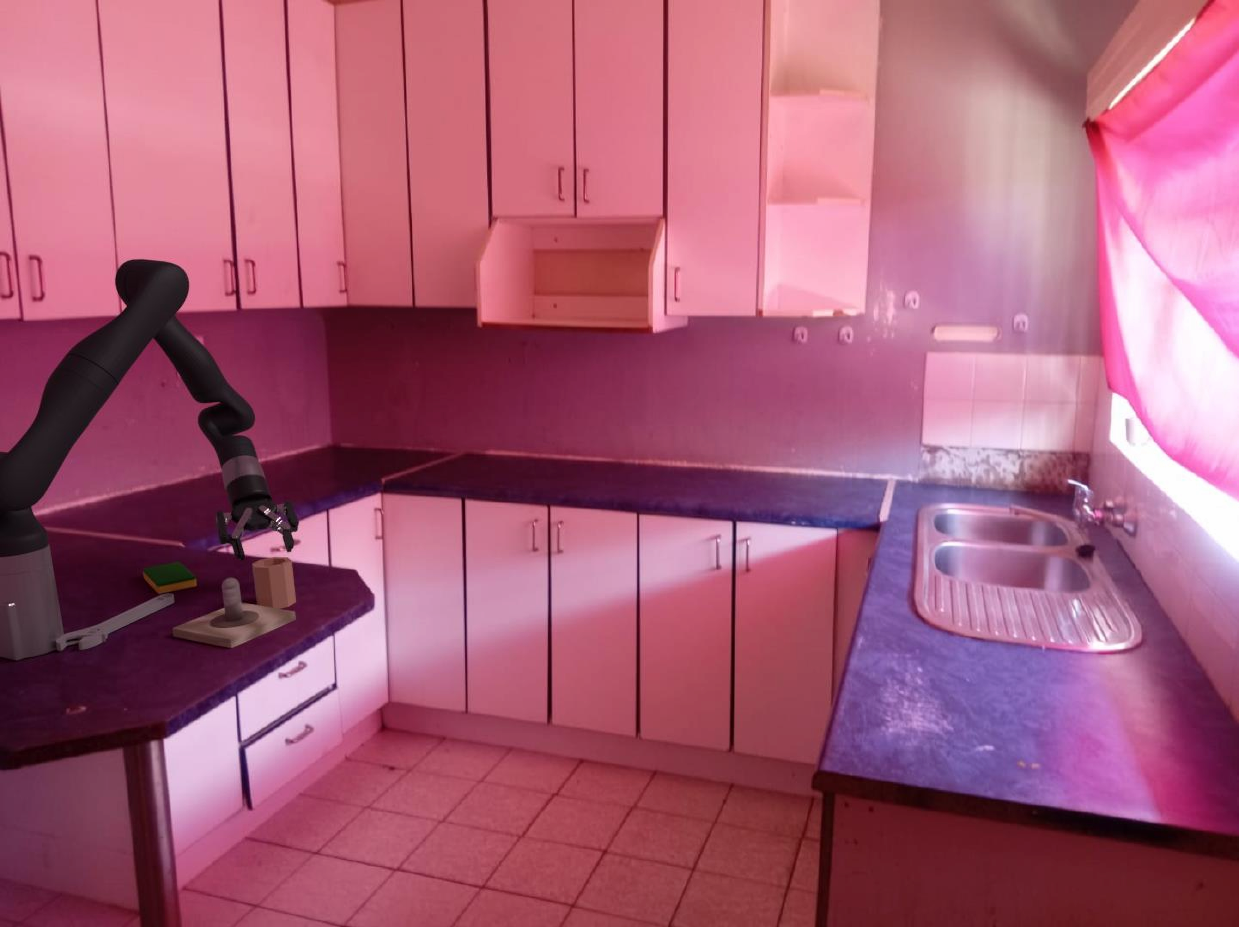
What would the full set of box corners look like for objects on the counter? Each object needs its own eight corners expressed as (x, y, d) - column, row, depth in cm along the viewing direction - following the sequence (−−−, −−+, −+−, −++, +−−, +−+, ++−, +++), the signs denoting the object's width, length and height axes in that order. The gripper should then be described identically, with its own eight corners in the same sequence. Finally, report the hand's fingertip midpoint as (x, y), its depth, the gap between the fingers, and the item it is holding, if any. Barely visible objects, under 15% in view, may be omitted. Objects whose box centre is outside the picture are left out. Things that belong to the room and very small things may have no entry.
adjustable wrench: (165, 600, 182) (164, 591, 182) (192, 604, 180) (192, 595, 180) (49, 649, 159) (48, 639, 159) (79, 654, 157) (78, 644, 157)
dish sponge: (180, 572, 202) (179, 561, 201) (197, 588, 191) (195, 576, 190) (143, 579, 198) (142, 568, 197) (158, 596, 187) (157, 584, 186)
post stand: (231, 648, 157) (224, 595, 155) (173, 636, 163) (166, 585, 161) (295, 619, 169) (290, 570, 167) (239, 609, 175) (233, 562, 174)
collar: (262, 612, 173) (257, 569, 172) (254, 602, 179) (249, 561, 177) (298, 604, 177) (294, 562, 175) (290, 595, 182) (285, 555, 181)
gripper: (207, 478, 180) (227, 550, 173) (285, 467, 188) (307, 536, 180) (206, 501, 186) (225, 572, 178) (281, 489, 193) (303, 557, 186)
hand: (266, 554), depth 179 cm, fingers open, 8 cm apart
